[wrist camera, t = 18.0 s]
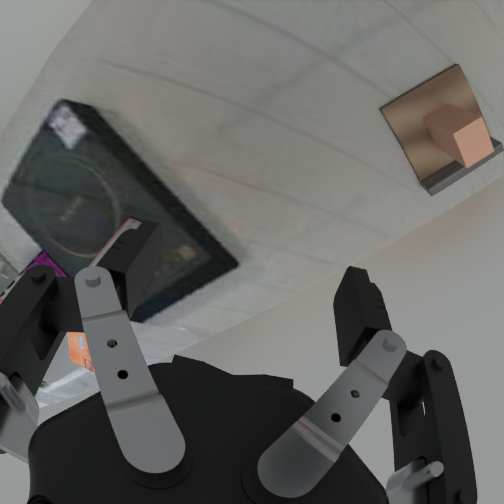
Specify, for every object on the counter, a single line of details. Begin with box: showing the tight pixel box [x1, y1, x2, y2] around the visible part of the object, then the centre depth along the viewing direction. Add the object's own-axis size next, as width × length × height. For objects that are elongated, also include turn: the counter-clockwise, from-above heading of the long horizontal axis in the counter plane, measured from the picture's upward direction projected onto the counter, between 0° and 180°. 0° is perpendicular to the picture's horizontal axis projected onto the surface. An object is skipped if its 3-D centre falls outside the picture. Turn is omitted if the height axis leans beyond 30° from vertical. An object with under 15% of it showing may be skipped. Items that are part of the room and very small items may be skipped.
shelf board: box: [379, 64, 504, 196], centre depth 34 cm, size 13×14×4 cm
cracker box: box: [67, 217, 142, 372], centre depth 45 cm, size 14×6×21 cm, turn 159°
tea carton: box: [423, 104, 494, 168], centre depth 31 cm, size 5×5×9 cm
